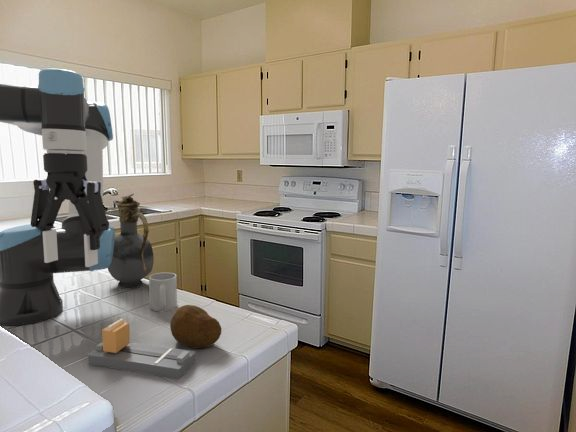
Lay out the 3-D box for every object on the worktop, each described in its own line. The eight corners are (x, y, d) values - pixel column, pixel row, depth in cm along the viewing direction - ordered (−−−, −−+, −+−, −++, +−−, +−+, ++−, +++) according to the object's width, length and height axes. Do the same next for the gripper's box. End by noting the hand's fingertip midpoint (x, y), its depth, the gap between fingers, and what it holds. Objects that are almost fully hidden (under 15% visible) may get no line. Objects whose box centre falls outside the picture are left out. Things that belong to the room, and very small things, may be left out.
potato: (192, 360, 80) (191, 320, 78) (161, 341, 87) (160, 305, 86) (224, 346, 86) (224, 309, 85) (192, 330, 94) (192, 295, 93)
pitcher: (134, 276, 134) (132, 190, 130) (164, 289, 122) (162, 195, 117) (103, 283, 126) (99, 192, 122) (131, 297, 114) (128, 197, 109)
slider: (103, 351, 78) (101, 326, 77) (117, 341, 82) (116, 317, 81) (116, 353, 77) (115, 327, 76) (129, 343, 81) (128, 319, 80)
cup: (177, 301, 112) (176, 271, 111) (176, 314, 103) (176, 282, 101) (150, 303, 110) (150, 273, 109) (148, 317, 101) (147, 284, 99)
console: (88, 364, 77) (87, 350, 77) (111, 347, 84) (110, 334, 83) (179, 378, 73) (179, 364, 72) (195, 360, 80) (195, 347, 79)
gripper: (2, 150, 74) (11, 263, 78) (100, 153, 70) (105, 272, 73) (35, 151, 82) (42, 254, 85) (125, 154, 77) (129, 263, 80)
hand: (71, 263), depth 79 cm, fingers open, 9 cm apart
